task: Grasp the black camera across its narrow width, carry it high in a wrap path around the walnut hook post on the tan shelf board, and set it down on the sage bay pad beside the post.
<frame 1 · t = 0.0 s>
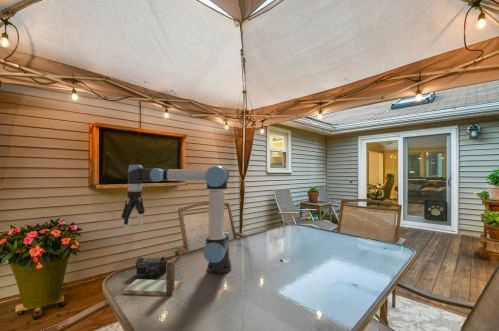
hand: (133, 227, 134), 28 cm above the table, fingers open, 13 cm apart
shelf: (153, 288, 118), on the table
camera: (150, 276, 133), on the table
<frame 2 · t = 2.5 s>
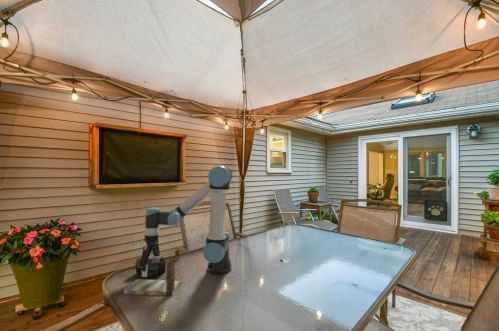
hand: (149, 271, 133), 2 cm above the table, fingers open, 12 cm apart
camera: (150, 276, 133), on the table, touching gripper
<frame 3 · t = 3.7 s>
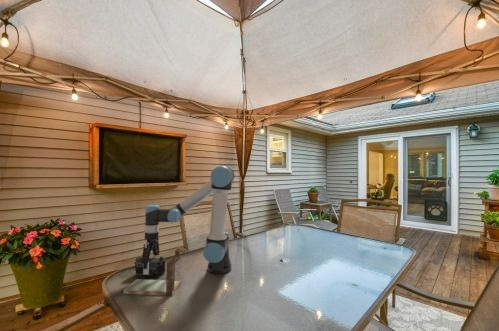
hand: (150, 270, 132), 3 cm above the table, fingers closed on camera, 10 cm apart
camera: (149, 276, 132), on the table, touching gripper
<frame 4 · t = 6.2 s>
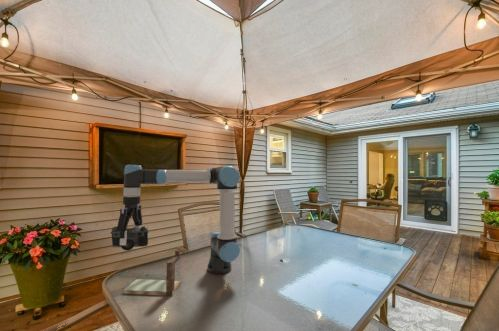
hand: (129, 241, 111), 26 cm above the table, fingers closed on camera, 10 cm apart
camera: (128, 248, 111), point 23 cm above the table, touching gripper
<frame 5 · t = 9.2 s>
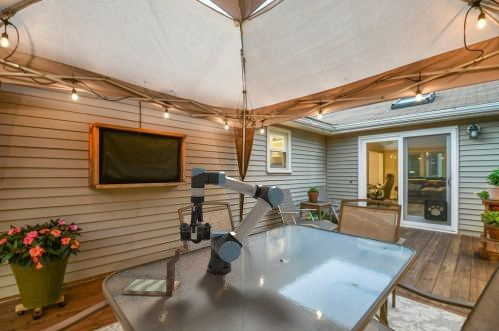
hand: (196, 236, 125), 26 cm above the table, fingers closed on camera, 10 cm apart
camera: (195, 242, 124), point 22 cm above the table, touching gripper
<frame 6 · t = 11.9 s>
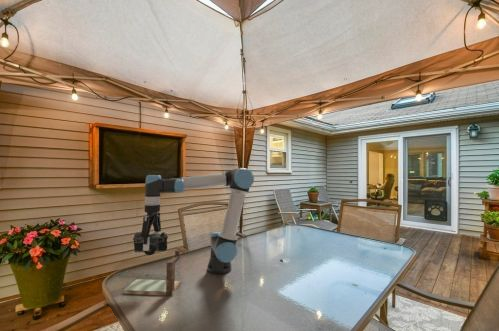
hand: (151, 247, 119), 21 cm above the table, fingers closed on camera, 10 cm apart
camera: (149, 253, 119), point 18 cm above the table, touching gripper
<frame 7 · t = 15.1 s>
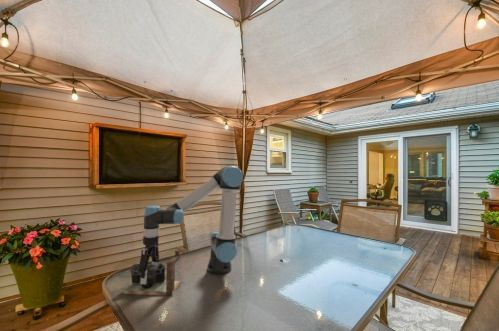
hand: (148, 278, 118), 5 cm above the table, fingers closed on camera, 10 cm apart
camera: (147, 285, 118), point 1 cm above the table, touching gripper, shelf
when the fingers open (5 cm above the table, at t = 15.4 s): camera stays where it is, resting on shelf.
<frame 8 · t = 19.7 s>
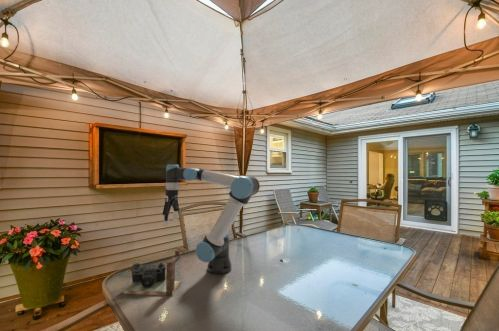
hand: (171, 223, 141), 29 cm above the table, fingers open, 13 cm apart
camera: (147, 284, 119), point 1 cm above the table, touching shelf
at the end: camera inside the target area (1.8 cm from its centre), point 1.5 cm above the table; camera tilted 1°; the gripper is holding nothing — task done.
